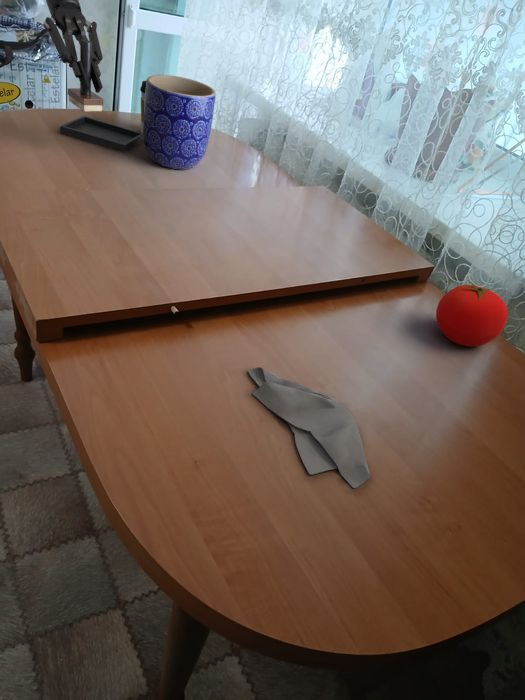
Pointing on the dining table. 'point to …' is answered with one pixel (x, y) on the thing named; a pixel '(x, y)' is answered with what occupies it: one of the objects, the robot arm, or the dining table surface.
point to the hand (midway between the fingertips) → (93, 89)
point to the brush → (89, 99)
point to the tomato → (471, 315)
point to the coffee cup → (142, 102)
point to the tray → (102, 133)
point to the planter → (177, 120)
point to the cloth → (316, 426)
